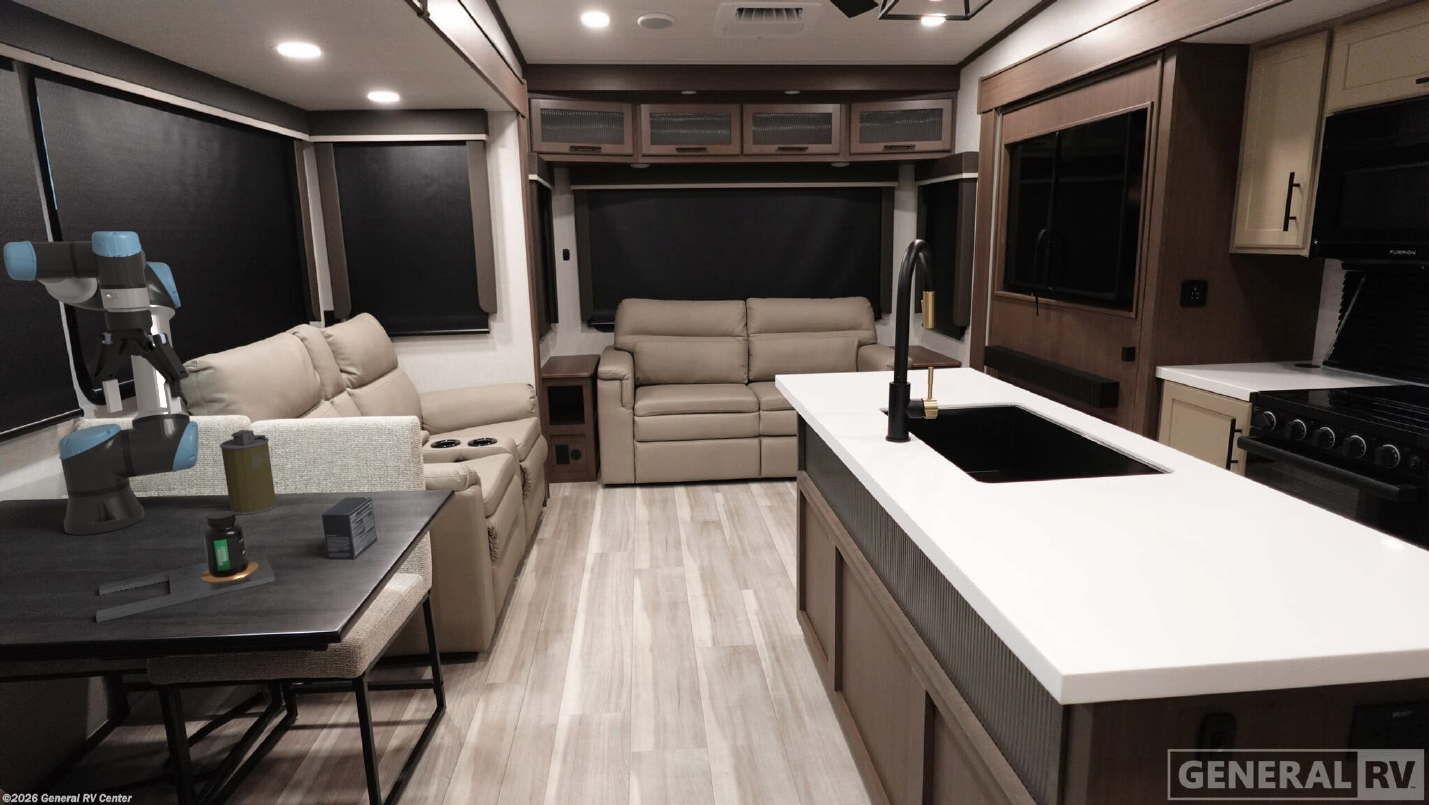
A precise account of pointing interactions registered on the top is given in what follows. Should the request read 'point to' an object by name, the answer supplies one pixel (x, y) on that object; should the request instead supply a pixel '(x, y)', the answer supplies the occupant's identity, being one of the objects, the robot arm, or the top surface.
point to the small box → (349, 528)
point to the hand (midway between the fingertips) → (145, 412)
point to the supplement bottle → (225, 545)
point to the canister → (248, 473)
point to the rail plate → (187, 585)
